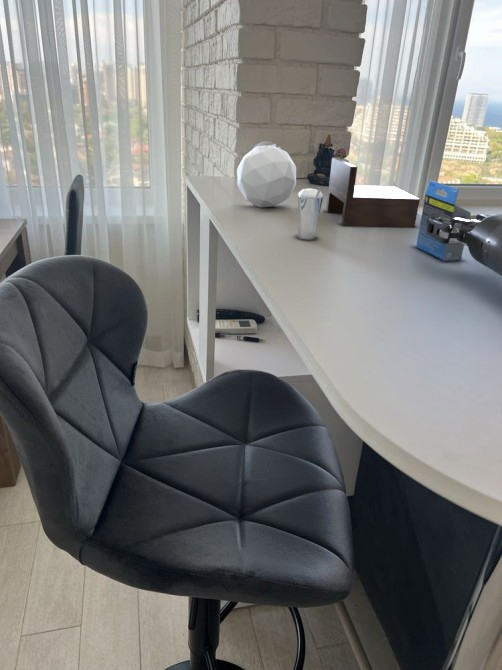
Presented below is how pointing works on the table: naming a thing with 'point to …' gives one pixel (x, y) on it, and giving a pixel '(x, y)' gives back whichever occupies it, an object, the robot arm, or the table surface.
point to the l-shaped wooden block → (368, 200)
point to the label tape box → (447, 210)
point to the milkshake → (309, 212)
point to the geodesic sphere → (266, 176)
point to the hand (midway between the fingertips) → (453, 219)
